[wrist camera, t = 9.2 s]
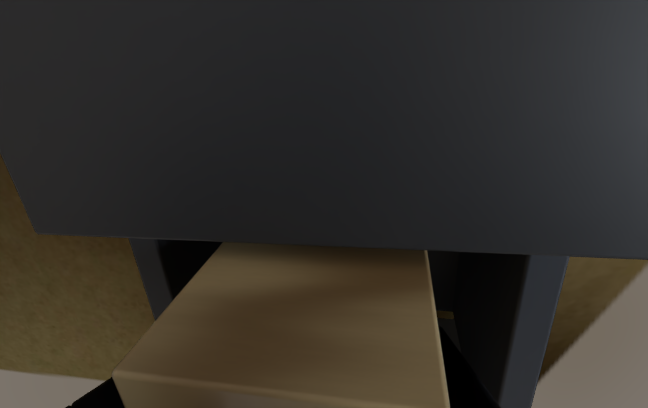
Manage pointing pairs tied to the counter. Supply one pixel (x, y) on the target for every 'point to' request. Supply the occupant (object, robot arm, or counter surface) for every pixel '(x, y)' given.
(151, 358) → the block
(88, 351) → the counter surface
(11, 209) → the counter surface
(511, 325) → the pulled-out drawer
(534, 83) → the drawer cabinet
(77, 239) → the counter surface
